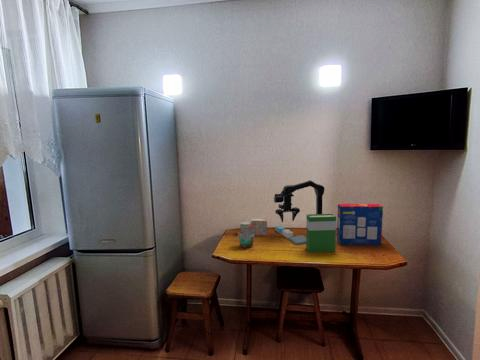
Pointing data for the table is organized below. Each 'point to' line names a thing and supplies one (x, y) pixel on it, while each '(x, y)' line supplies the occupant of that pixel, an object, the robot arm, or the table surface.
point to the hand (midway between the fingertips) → (287, 221)
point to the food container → (245, 240)
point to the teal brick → (279, 229)
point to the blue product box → (359, 224)
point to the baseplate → (298, 240)
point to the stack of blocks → (254, 227)
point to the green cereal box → (321, 232)
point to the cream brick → (287, 233)
